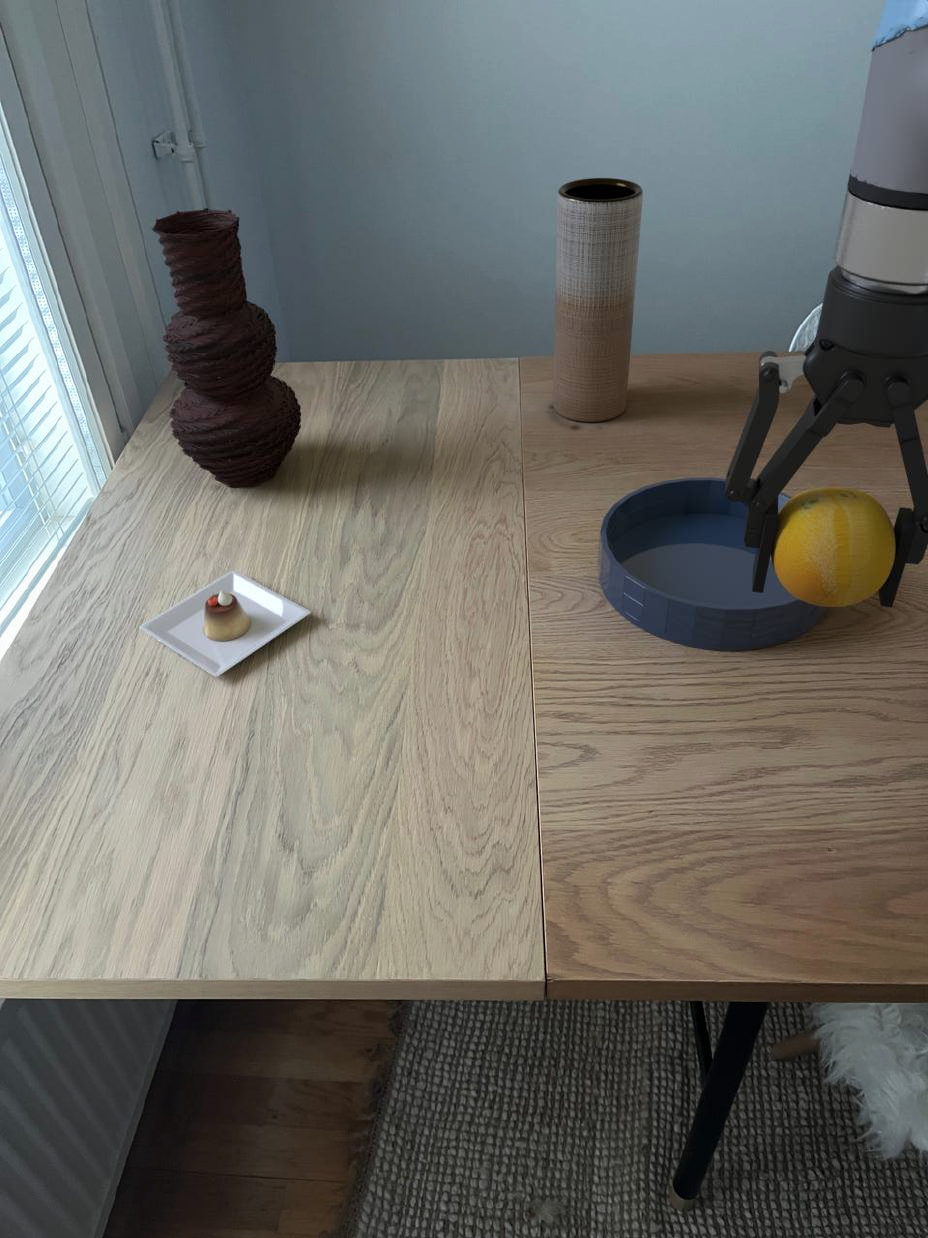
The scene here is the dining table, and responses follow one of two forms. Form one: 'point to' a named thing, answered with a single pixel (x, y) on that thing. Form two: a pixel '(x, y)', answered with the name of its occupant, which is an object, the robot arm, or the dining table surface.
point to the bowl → (694, 570)
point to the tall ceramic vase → (595, 296)
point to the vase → (223, 355)
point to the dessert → (224, 622)
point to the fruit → (833, 546)
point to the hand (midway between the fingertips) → (820, 588)
